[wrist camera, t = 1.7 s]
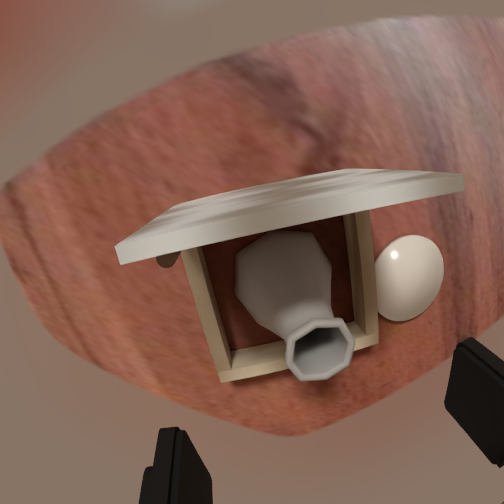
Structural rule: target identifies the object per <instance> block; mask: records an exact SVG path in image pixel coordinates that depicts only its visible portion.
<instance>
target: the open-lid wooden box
mask: <svg viewBox="0 0 504 504" xmlns="http://www.w3.org/2000/svg"><path fill="white" fill-rule="evenodd" d="M459 191H465V185H464V175H463V174H456V173H444V172H429V171H412V170H388V169H343V170H337V171H331V172H326V173H320V174H314V175H309V176H303V177H298V178H293V179H288V180H283V181H278V182H273V183H268V184H263V185H258V186H253V187H249V188H244V189H239V190H235V191H230V192H226V193H221V194H217V195H213V196H208V197H204V198H200V199H196V200H192V201H188V202H184V203H180V204H176V205H174V206H173V207H171V208H170V209H168V210H167V211H165V212H164V213H162V214H161V215H159V216H158V217H156V218H155V219H153V220H152V221H150V222H149V223H147V224H146V225H144V226H143V227H142V228H140V229H139V230H137V231H136V232H134V233H133V234H131V235H130V236H129V237H127V238H126V239H124V240H123V241H121V242H120V243H119V244H117V245H116V246H115V249H116V252H117V255H118V259H119V262H120V265H122V264H126V263H130V262H134V261H139V260H143V259H147V258H151V257H156V260H157V262H158V264H159V265H160V266H161V267H164V268H169V267H172V266H173V265H174V264H175V262H176V260H177V258H178V256H179V255H180V253H181V255H182V258H183V262H184V266H185V269H186V273H187V276H188V280H189V283H190V287H191V290H192V294H193V297H194V300H195V304H196V307H197V310H198V314H199V317H200V320H201V323H202V327H203V330H204V333H205V336H206V339H207V342H208V345H209V348H210V351H211V354H212V357H213V361H214V363H215V366H216V369H217V372H218V375H219V378H220V381H221V383H223V382H228V381H234V380H239V379H244V378H249V377H254V376H259V375H263V374H268V373H272V372H277V371H281V370H285V369H289V368H288V366H287V365H286V364H285V353H286V343H285V340H281V341H276V342H272V343H268V344H263V345H259V346H254V347H249V348H245V349H240V350H235V351H230V347H229V344H228V341H227V337H226V334H225V330H224V327H223V323H222V320H221V316H220V313H219V309H218V305H217V302H216V298H215V294H214V291H213V287H212V283H211V280H210V276H209V272H208V268H207V264H206V261H205V257H204V253H203V249H202V246H203V245H207V244H212V243H216V242H221V241H225V240H229V239H234V238H238V237H243V236H247V235H252V234H256V233H261V232H265V231H270V230H274V229H279V228H284V227H288V226H293V225H297V224H302V223H307V222H311V221H316V220H321V219H326V218H330V217H335V216H340V215H343V222H344V229H345V236H346V244H347V252H348V260H349V268H350V278H351V288H352V298H353V310H354V321H353V322H349V323H346V326H347V328H348V329H349V331H350V333H351V334H352V336H353V338H354V339H355V341H356V342H355V347H354V351H355V350H359V349H362V348H365V347H368V346H371V345H374V344H377V343H379V337H378V306H377V288H376V274H375V261H374V250H373V241H372V231H371V223H370V215H369V209H374V208H378V207H383V206H388V205H393V204H398V203H403V202H408V201H413V200H418V199H423V198H428V197H433V196H439V195H444V194H449V193H454V192H459Z"/></svg>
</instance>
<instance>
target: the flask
mask: <svg viewBox="0 0 504 504" xmlns="http://www.w3.org/2000/svg"><path fill="white" fill-rule="evenodd" d="M331 275H332V264H331V262H330V261H329V259H328V257H327V256H326V254H325V252H324V251H323V249H322V247H321V246H320V244H319V243H318V241H317V239H316V238H315V236H314V234H313V233H312V232H302V231H280V230H270V231H269V232H267V233H266V234H264V235H263V236H261V237H260V238H258V239H257V240H255V241H254V242H252V243H251V244H249V245H248V246H246V247H245V248H243V249H242V250H240V251H239V252H238V253H236V256H235V281H234V294H235V295H236V296H237V298H238V299H239V300H240V302H241V303H242V304H243V306H244V307H245V308H246V310H247V311H248V312H249V313H250V315H251V316H252V317H253V319H254V320H255V321H256V323H258V324H259V325H261V326H263V327H265V328H267V329H269V330H270V331H272V332H273V333H275V334H276V335H278V336H279V337H281V338H282V339H284V340H285V343H286V353H285V364H286V365H287V366H288V368H289V369H290V370H291V371H292V373H293V374H294V375H295V376H296V377H297V379H298V380H299V381H300V382H302V381H318V380H327V379H329V378H331V377H332V376H334V375H335V374H337V373H339V372H340V371H342V370H343V369H345V368H346V367H348V366H350V364H351V360H352V356H353V351H354V347H355V342H356V341H355V339H354V338H353V336H352V334H351V333H350V331H349V329H348V328H347V326H346V324H345V323H344V321H343V319H341V318H334V315H333V312H332V308H331Z"/></svg>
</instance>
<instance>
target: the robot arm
mask: <svg viewBox="0 0 504 504" xmlns="http://www.w3.org/2000/svg"><path fill="white" fill-rule="evenodd" d="M444 404H445V408H446V410H447V411H448V412H449V413H450V414H451V415H452V417H453V418H454V419H455V420H456V421H457V422H458V424H459V425H460V426H461V427H462V428H463V429H464V431H465V432H466V433H467V434H468V435H469V436H470V438H471V439H472V440H473V441H474V443H475V444H476V445H477V446H478V447H479V449H480V450H481V451H482V452H483V453H484V455H485V456H486V457H487V458H488V459H489V461H490V462H491V463H492V464H497V466H498V467H499V468H501V467H502V466H504V361H503V360H501V359H500V358H499V357H498V356H496V355H495V354H494V353H492V352H491V351H490V350H489V349H487V348H486V347H485V346H483V345H482V344H481V343H479V342H478V341H477V340H475V339H474V338H472V337H470V338H468V339H466V340H464V341H462V342H460V343H458V344H457V346H456V349H455V350H454V353H453V360H452V366H451V371H450V377H449V382H448V387H447V392H446V396H445V401H444ZM139 504H213V498H212V479H211V476H210V474H209V472H208V470H207V468H206V467H205V465H204V463H203V462H202V460H201V458H200V456H199V455H198V453H197V451H196V449H195V447H194V445H193V444H192V442H191V440H190V438H189V436H188V434H187V432H186V431H185V430H180V429H179V428H178V427H170V428H161V429H160V430H159V434H158V439H157V445H156V451H155V457H154V463H153V466H149V467H147V468H146V469H145V471H144V475H143V481H142V486H141V492H140V499H139ZM502 504H504V502H503V503H502Z"/></svg>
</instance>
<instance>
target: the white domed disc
mask: <svg viewBox="0 0 504 504" xmlns="http://www.w3.org/2000/svg"><path fill="white" fill-rule="evenodd" d="M443 273H444V265H443V259H442V255H441V253H440V251H439V249H438V248H437V246H436V245H435V244H434V243H433V242H432V241H431V240H429V239H427V238H425V237H423V236H420V235H404V236H401V237H399V238H397V239H395V240H393V241H392V242H390V243H389V244H388V245H387V246H386V247H385V248H384V249H383V250H382V251H381V252H380V254H379V255H378V257H377V258H376V260H375V274H376V288H377V306H378V312H379V313H380V314H381V315H382V316H384V317H385V318H387V319H389V320H393V321H406V320H409V319H412V318H414V317H416V316H418V315H419V314H421V313H422V312H423V311H425V310H426V309H427V308H428V307H429V306H430V305H431V303H432V302H433V301H434V299H435V297H436V296H437V294H438V292H439V290H440V287H441V284H442V280H443Z"/></svg>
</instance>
